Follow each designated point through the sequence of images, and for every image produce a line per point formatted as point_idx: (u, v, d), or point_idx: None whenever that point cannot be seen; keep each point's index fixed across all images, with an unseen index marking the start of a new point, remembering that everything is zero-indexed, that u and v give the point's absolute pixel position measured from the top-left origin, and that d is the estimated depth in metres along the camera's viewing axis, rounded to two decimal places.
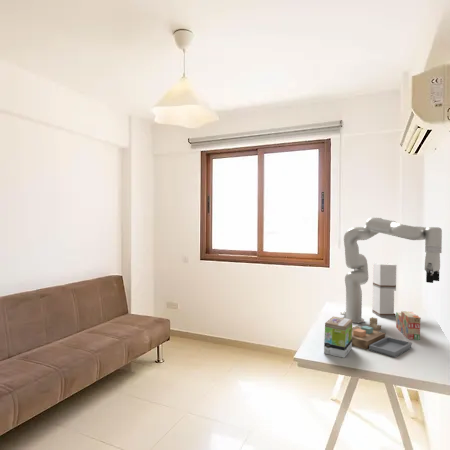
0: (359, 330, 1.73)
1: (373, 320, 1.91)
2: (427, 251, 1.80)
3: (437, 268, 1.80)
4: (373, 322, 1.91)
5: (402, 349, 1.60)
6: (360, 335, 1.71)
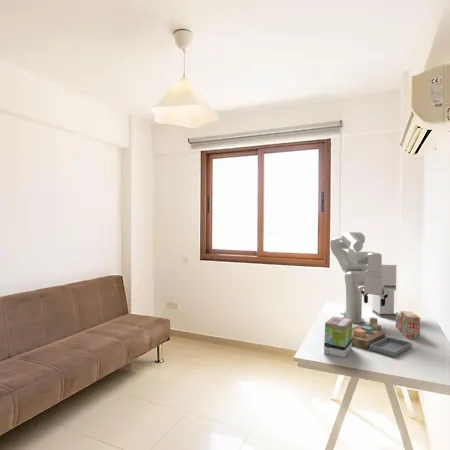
0: (359, 330, 1.73)
1: (373, 320, 1.91)
2: (378, 276, 1.89)
3: None
4: (373, 322, 1.91)
5: (402, 349, 1.60)
6: (360, 335, 1.71)
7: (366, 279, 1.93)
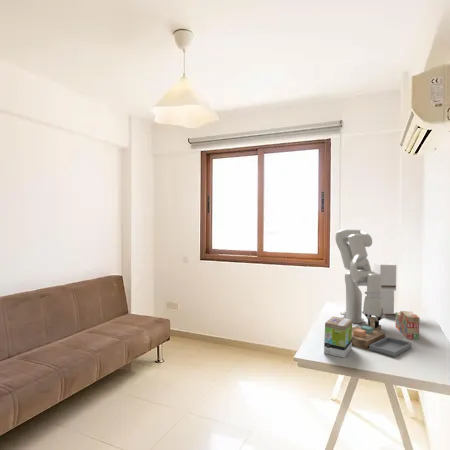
0: (359, 330, 1.73)
1: (373, 319, 1.91)
2: (378, 297, 1.89)
3: None
4: (373, 321, 1.91)
5: (402, 349, 1.60)
6: (360, 335, 1.71)
7: (365, 299, 1.93)
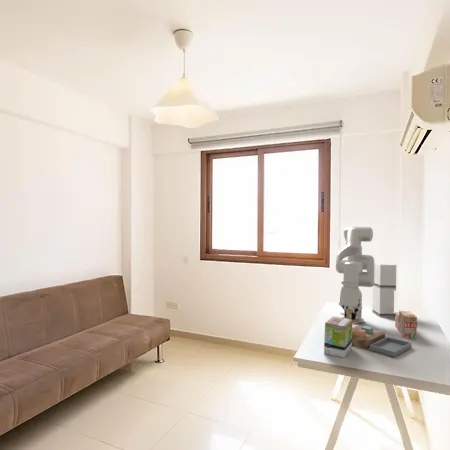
0: (359, 330, 1.73)
1: (350, 311, 1.80)
2: (354, 287, 1.78)
3: None
4: (350, 313, 1.80)
5: (402, 349, 1.60)
6: (360, 335, 1.71)
7: (342, 290, 1.83)
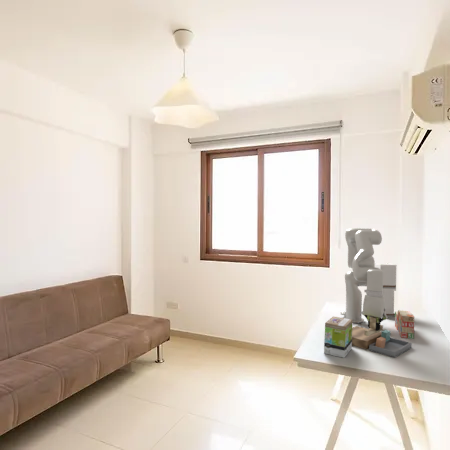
0: (382, 344, 1.64)
1: (374, 319, 1.71)
2: (379, 296, 1.68)
3: None
4: (374, 321, 1.71)
5: (402, 349, 1.60)
6: (377, 346, 1.64)
7: (365, 299, 1.73)
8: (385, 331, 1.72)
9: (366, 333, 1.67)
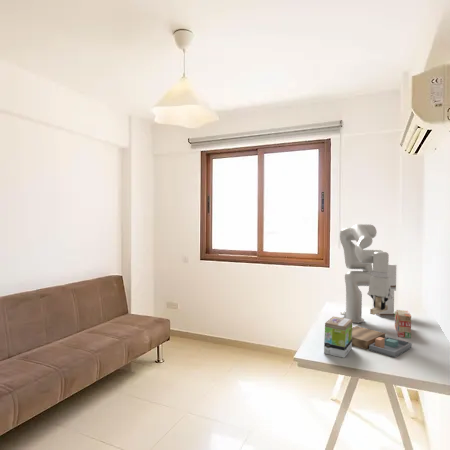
0: (382, 343, 1.64)
1: (379, 299, 1.79)
2: (384, 277, 1.76)
3: None
4: (379, 301, 1.79)
5: (402, 349, 1.60)
6: None
7: (371, 279, 1.81)
8: (396, 343, 1.68)
9: (372, 312, 1.75)
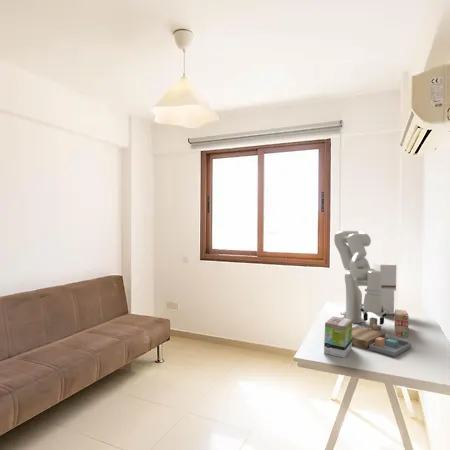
0: (382, 343, 1.64)
1: (373, 320, 1.91)
2: (378, 295, 1.89)
3: None
4: (373, 322, 1.91)
5: (402, 349, 1.60)
6: None
7: (366, 297, 1.93)
8: (396, 343, 1.68)
9: None
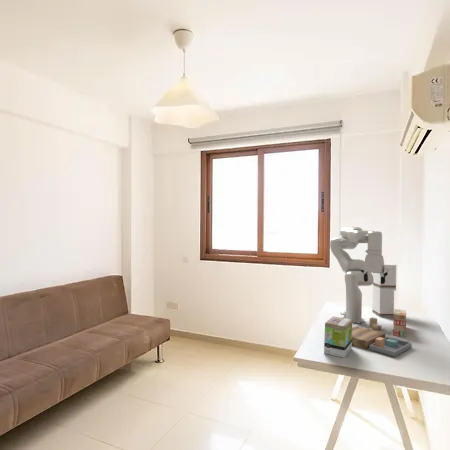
0: (382, 343, 1.64)
1: (373, 320, 1.91)
2: (378, 254, 1.89)
3: None
4: (373, 322, 1.91)
5: (402, 349, 1.60)
6: None
7: (366, 257, 1.93)
8: (396, 343, 1.68)
9: None
